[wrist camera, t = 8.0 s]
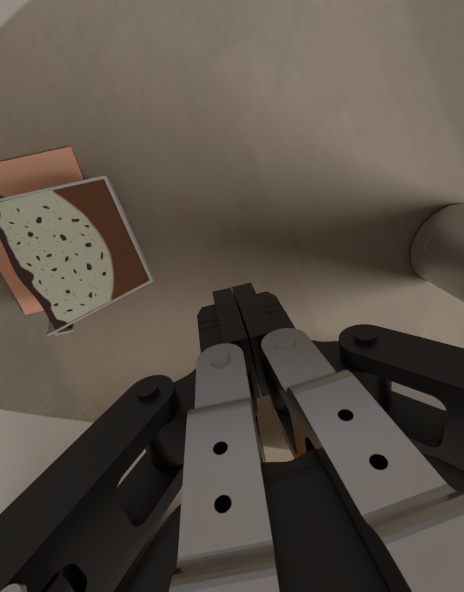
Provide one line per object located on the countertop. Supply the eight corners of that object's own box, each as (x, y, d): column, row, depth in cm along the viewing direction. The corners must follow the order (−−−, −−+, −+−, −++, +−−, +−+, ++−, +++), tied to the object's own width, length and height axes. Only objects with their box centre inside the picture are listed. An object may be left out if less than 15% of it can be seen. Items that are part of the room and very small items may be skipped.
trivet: (70, 146, 28) (69, 146, 28) (126, 289, 35) (125, 290, 35) (-54, 173, 28) (-56, 174, 28) (26, 313, 34) (25, 315, 34)
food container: (101, 159, 31) (-9, 196, 29) (96, 155, 25) (-41, 200, 24) (154, 278, 36) (62, 315, 34) (159, 296, 30) (49, 341, 28)
